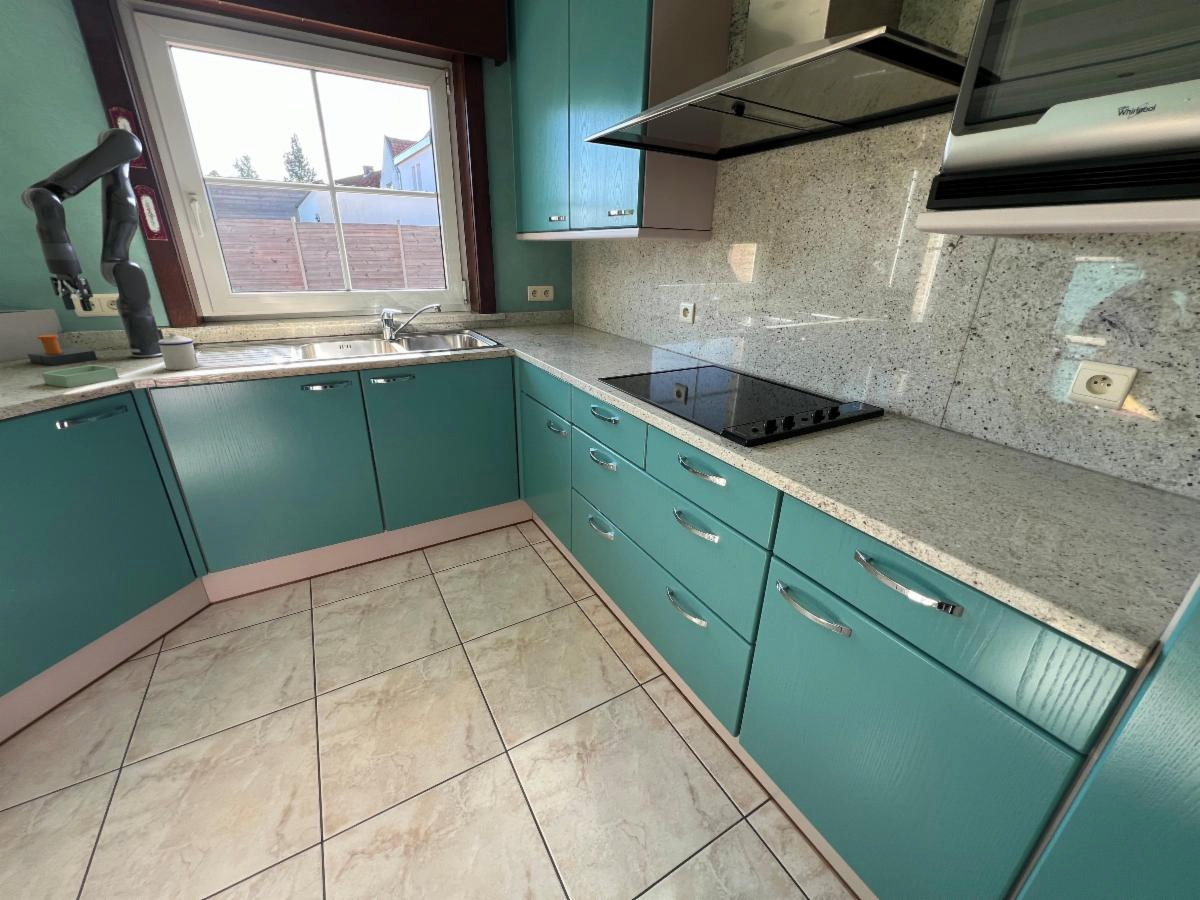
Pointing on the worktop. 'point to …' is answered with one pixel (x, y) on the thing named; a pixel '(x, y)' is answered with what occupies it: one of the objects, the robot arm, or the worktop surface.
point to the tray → (80, 375)
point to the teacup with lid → (178, 352)
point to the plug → (50, 344)
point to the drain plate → (62, 356)
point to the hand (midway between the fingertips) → (79, 310)
